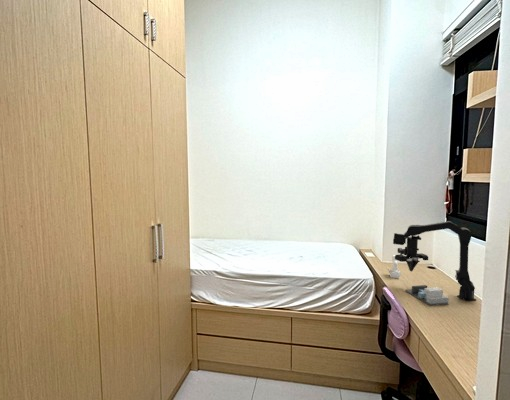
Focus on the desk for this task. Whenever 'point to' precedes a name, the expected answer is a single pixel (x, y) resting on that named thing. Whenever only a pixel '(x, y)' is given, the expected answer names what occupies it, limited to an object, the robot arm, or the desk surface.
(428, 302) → the vise base
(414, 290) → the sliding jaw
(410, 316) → the desk surface
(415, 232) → the robot arm
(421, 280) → the desk surface
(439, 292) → the steel block
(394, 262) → the figurine
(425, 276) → the desk surface
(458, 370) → the desk surface
